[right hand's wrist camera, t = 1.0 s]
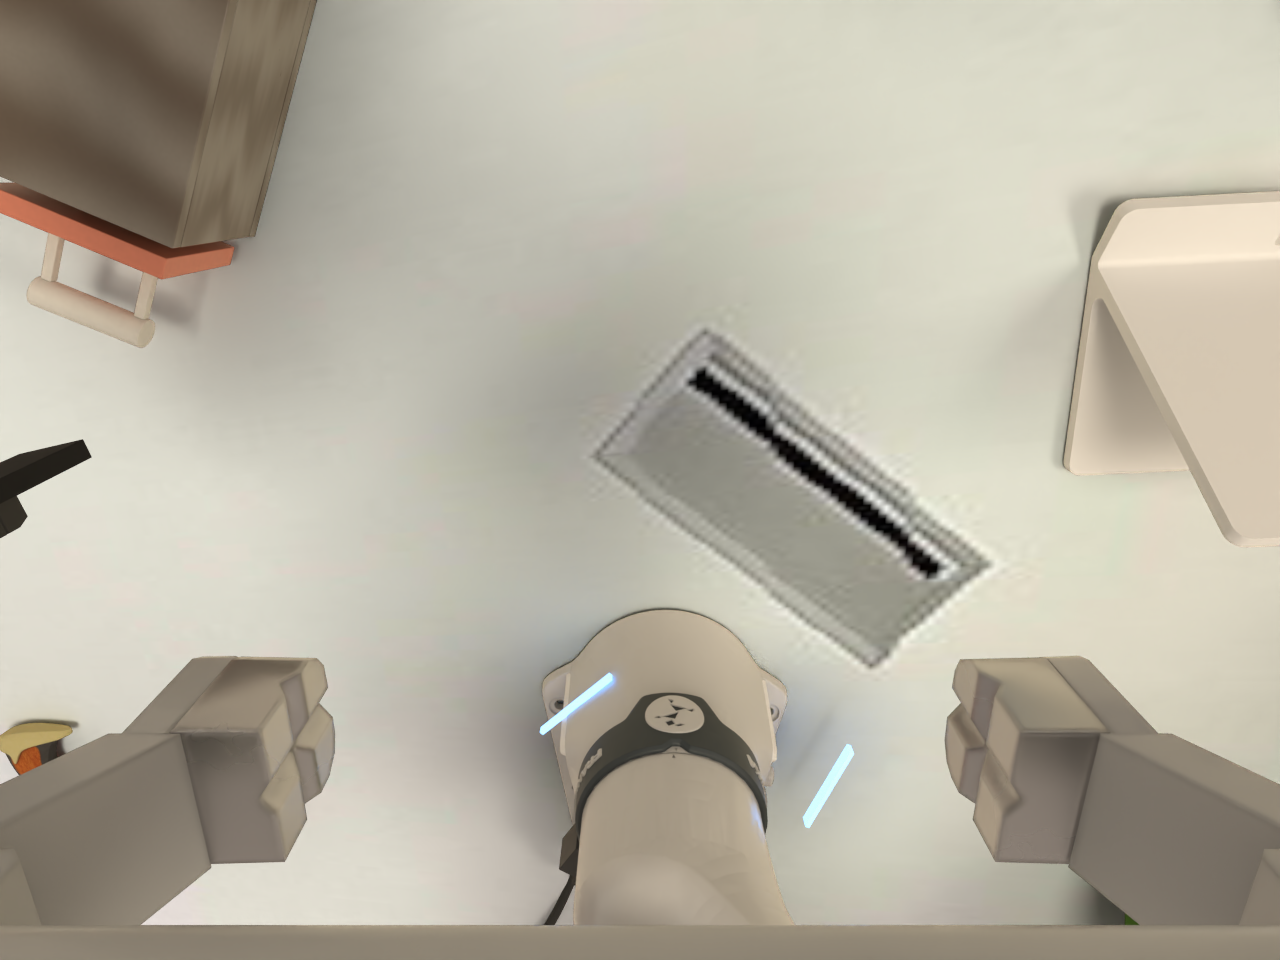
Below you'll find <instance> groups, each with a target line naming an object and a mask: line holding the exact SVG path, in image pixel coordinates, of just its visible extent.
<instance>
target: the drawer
mask: <svg viewBox="0 0 1280 960" xmlns="http://www.w3.org/2000/svg"><path fill="white" fill-rule="evenodd" d="M0 213H2V214H4V215H7V216H9V217H12V218H14V219H16V220H19V221H21V222H24V223H26V224H29V225H31V226H33V227H36V228H38V229H41V230H43V231H46V232H48V238H47V244H46V249H45V255H44V261H43V266H42V272H41V276H39V277H37V278H35V279H34V280H33V281H32V282H31V284H30V285H29V287H28V290H27V300H28V302H29V303H30V304H32V305H34V306H37V307H39V308H42V309H44V310H47V311H49V312H52V313H54V314H57V315H59V316H62V317H64V318H67V319H69V320H72V321H74V322H77V323H79V324H82V325H84V326H87V327H89V328H92V329H94V330H97V331H99V332H102V333H104V334H107V335H109V336H112V337H114V338H117V339H119V340H122V341H124V342H127V343H129V344H132V345H134V346H137V347H139V348H143V347H145V346H147V345H148V344H149V342H150V341H151V339H152V337H153V335H154V332H155V323H154V322H153V321H152V320H150V319H148V318H149V315H150V311H151V306H152V302H153V297H154V293H155V289H156V284H157V280H158V278H159V279H166V278H170V277H175V276H180V275H184V274H189V273H194V272H198V271H203V270H208V269H212V268H217V267H222V266H226V265H230V263H231V259H232V255H233V251H234V247H233V246H231V245H228V244H226V243H224V242H221V241H218V242H212V243H205V244H199V245H192V246H186V247H178V248H170V247H168V246H165V245H163V244H160V243H158V242H156V241H153V240H151V239H148V238H146V237H144V236H141V235H139V234H137V233H134V232H132V231H129V230H127V229H125V228H122V227H120V226H117V225H115V224H113V223H110V222H108V221H105V220H103V219H101V218H98V217H96V216H94V215H91V214H89V213H86V212H84V211H82V210H79V209H77V208H74V207H72V206H70V205H67V204H65V203H63V202H60V201H58V200H55V199H53V198H51V197H48V196H46V195H43V194H41V193H39V192H36V191H34V190H31V189H29V188H27V187H24V186H22V185H20V184H17V183H0ZM64 240H67V241H70V242H72V243H75V244H77V245H79V246H82V247H84V248H87V249H89V250H92V251H94V252H96V253H99V254H101V255H104V256H106V257H109V258H111V259H113V260H116V261H118V262H121V263H123V264H125V265H128V266H130V267H133V268H135V269H138V270H140V271H142V272H143V275H142V279H141V284H140V289H139V293H138V298H137V302H136V307H135V311H134V313H133V312H130V311H128V310H125V309H123V308H120V307H118V306H115V305H113V304H111V303H108V302H106V301H103V300H101V299H98V298H96V297H93V296H91V295H88V294H86V293H83V292H81V291H78V290H76V289H74V288H71V287H69V286H66V285H64V284H61V283H59V282H56V281H57V278H58V272H59V267H60V261H61V256H62V250H63V245H64Z"/></svg>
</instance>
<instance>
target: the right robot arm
mask: <svg viewBox="0 0 1280 960" xmlns="http://www.w3.org/2000/svg"><path fill="white" fill-rule="evenodd" d="M327 688H328V685H327V680H326V675H325V670H324V665H323V664H322V663H321V662H320V661H319V660H318V659H317V658H287V657H236V656H206V657H199V658H194V659H192V660H191V661H190V662H189V663H188V664H187V665H186V666H185V667H184V668H183V669H182V670H181V671H180V672H179V674H178V675H177V676H176V677H175V678H174V679H173V680H172V681H171V682H170V683H169V684H168V685H167V686H166V687H165V688H164V689H163V690H162V692H161V693H160V694H159V695H158V696H157V697H156V698H155V699H154V700H153V701H152V702H151V703H150V704H149V705H148V706H147V707H146V708H145V709H144V711H143V712H142V713H141V714H140V715H139V716H138V717H137V718H136V719H135V720H134V721H133V722H132V723H131V724H130V725H129V726H128V727H127V729H126V730H125V731H124V732H123V733H122V734H107V735H105V736H103V737H100V738H98V739H96V740H94V741H92V742H90V743H88V744H86V745H83V746H81V747H79V748H77V749H75V750H73V751H71V752H68V753H66V754H64V755H62V756H60V757H58V758H56V759H54V760H51V761H49V762H47V763H45V764H43V765H41V766H39V767H36V768H34V769H32V770H30V771H28V772H26V773H24V774H22V775H19V776H17V777H15V778H13V779H11V780H9V781H7V782H4V783H2V784H0V960H1280V784H1277V783H1275V782H1273V781H1271V780H1269V779H1267V778H1265V777H1262V776H1260V775H1258V774H1256V773H1254V772H1252V771H1250V770H1248V769H1245V768H1243V767H1241V766H1239V765H1237V764H1235V763H1233V762H1231V761H1228V760H1226V759H1224V758H1222V757H1220V756H1218V755H1216V754H1214V753H1211V752H1209V751H1207V750H1205V749H1203V748H1201V747H1199V746H1197V745H1194V744H1192V743H1190V742H1188V741H1186V740H1184V739H1182V738H1180V737H1177V736H1175V735H1173V734H1158V733H1157V732H1156V731H1155V730H1154V728H1153V727H1152V726H1151V725H1150V724H1149V723H1148V722H1147V721H1146V720H1145V719H1144V718H1143V717H1142V716H1141V715H1140V714H1139V713H1138V712H1137V710H1136V709H1135V708H1134V707H1133V706H1132V705H1131V704H1130V703H1129V702H1128V701H1127V700H1126V699H1125V698H1124V697H1123V696H1122V695H1121V694H1120V692H1119V691H1118V690H1117V689H1116V688H1115V687H1114V686H1113V685H1112V684H1111V683H1110V682H1109V681H1108V680H1107V679H1106V678H1105V677H1104V676H1103V674H1102V673H1101V672H1100V671H1099V670H1098V669H1097V668H1096V667H1095V666H1094V665H1093V664H1092V663H1091V662H1090V661H1089V660H1088V659H1085V658H1083V657H1080V656H1058V657H1039V658H999V659H960V661H959V663H958V665H957V667H956V669H955V673H954V679H953V684H952V688H953V690H954V692H955V693H956V695H957V697H958V698H959V700H960V702H961V704H960V705H959V706H958V707H957V708H956V709H955V710H954V711H953V712H952V713H951V714H950V715H949V716H948V717H947V724H946V732H945V749H946V760H947V764H948V768H949V771H950V774H951V778H952V780H953V782H954V784H955V786H956V788H957V790H958V792H959V793H960V794H962V795H963V796H965V797H966V798H968V799H969V800H971V801H972V802H974V803H975V810H974V815H973V821H974V822H975V824H976V826H977V828H978V830H979V832H980V834H981V836H982V838H983V839H984V841H985V843H986V845H987V847H988V849H989V851H990V853H991V855H992V856H993V858H994V860H995V862H1019V863H1055V864H1069V868H1070V869H1071V870H1073V871H1074V872H1075V873H1076V874H1077V875H1079V876H1080V877H1081V878H1082V879H1084V880H1085V881H1086V882H1087V883H1089V884H1090V885H1091V886H1092V887H1094V888H1095V889H1096V890H1097V891H1098V892H1100V893H1101V894H1102V895H1103V896H1105V897H1106V898H1107V899H1108V900H1110V901H1111V902H1112V903H1113V904H1115V905H1116V906H1117V907H1118V908H1119V909H1121V910H1122V911H1123V912H1124V913H1126V914H1127V915H1128V916H1129V917H1131V918H1132V919H1133V920H1134V921H1136V922H1137V923H1138V924H1139V925H795V924H794V922H793V921H792V919H791V917H790V915H789V913H788V911H787V909H786V907H785V905H784V902H783V899H782V896H781V893H780V890H779V886H778V883H777V880H776V877H775V873H774V869H773V866H772V862H771V858H770V855H769V851H768V846H767V842H766V838H765V833H766V829H767V796H766V791H765V786H771V785H772V783H773V780H774V769H773V767H771V763H772V762H774V761H776V759H777V747H776V741H775V735H776V732H777V730H778V727H779V724H780V721H781V719H782V716H783V713H784V710H785V707H786V705H787V691H786V688H785V686H784V685H783V684H782V683H781V682H780V681H779V680H778V679H776V678H775V677H773V676H772V675H770V674H769V673H767V672H765V671H764V670H762V669H760V668H759V666H758V665H757V664H756V663H755V662H754V660H753V659H752V657H751V656H750V654H749V653H748V651H747V649H746V648H745V647H744V645H743V644H742V643H741V642H740V640H739V639H738V638H737V637H736V636H735V635H734V634H732V633H731V632H730V631H729V630H728V629H726V628H725V627H723V626H722V625H720V624H718V623H717V622H715V621H713V620H711V619H709V618H706V617H704V616H701V615H698V614H694V613H690V612H685V611H679V610H653V611H646V612H641V613H637V614H634V615H631V616H628V617H625V618H623V619H620V620H618V621H616V622H614V623H613V624H611V625H609V626H608V627H606V628H605V629H603V630H602V631H601V632H600V633H598V634H597V635H596V636H595V637H594V638H593V639H592V640H591V641H590V642H589V643H588V645H587V646H586V647H585V648H584V650H583V651H582V652H581V653H580V655H579V656H578V657H577V658H576V659H575V660H573V661H572V662H571V663H569V664H567V665H565V666H563V667H561V668H559V669H557V670H555V671H554V672H552V673H551V674H549V675H548V676H547V677H546V678H545V679H544V681H543V684H542V696H543V700H544V705H545V709H546V713H547V717H548V722H547V723H545V724H544V725H543V726H542V727H541V729H540V733H541V734H542V735H544V734H545V733H546V732H547V731H549V730H551V735H552V739H553V743H554V747H555V752H556V756H557V760H558V765H559V769H560V773H561V777H562V782H563V786H564V790H565V795H566V799H567V803H568V808H569V812H570V816H571V820H572V824H573V827H572V828H571V829H570V830H569V831H568V833H567V834H566V835H565V836H564V838H563V840H562V849H561V857H560V866H559V869H560V870H562V871H564V872H566V873H568V874H569V875H570V877H569V880H568V882H567V884H566V886H565V888H564V890H563V891H562V893H561V895H560V897H559V899H558V901H557V903H556V905H555V907H554V909H553V911H552V913H551V915H550V917H549V918H548V920H547V922H546V923H545V925H141V924H142V923H143V922H145V921H146V920H147V919H148V918H150V917H151V916H152V915H153V914H155V913H156V912H157V911H158V910H160V909H161V908H162V907H163V906H165V905H166V904H167V903H168V902H169V901H171V900H172V899H173V898H174V897H176V896H177V895H178V894H179V893H181V892H182V891H183V890H184V889H186V888H187V887H188V886H189V885H190V884H192V883H193V882H194V881H195V880H197V879H198V878H199V877H200V876H202V875H203V874H204V873H205V872H207V871H208V870H209V869H210V868H211V864H224V863H259V862H285V860H286V858H287V857H288V855H289V853H290V851H291V849H292V847H293V845H294V843H295V841H296V840H297V838H298V836H299V834H300V832H301V830H302V828H303V826H304V824H305V822H306V821H307V815H306V810H305V803H306V802H308V801H309V800H311V799H312V798H314V797H315V796H317V795H318V794H320V793H321V792H322V790H323V788H324V786H325V784H326V781H327V779H328V777H329V775H330V771H331V767H332V762H333V758H334V753H335V730H334V723H333V717H332V716H331V715H330V714H329V713H328V712H327V711H326V710H325V709H324V708H323V707H322V706H321V705H320V704H319V702H320V700H321V698H322V697H323V695H324V693H325V692H326V690H327ZM558 700H562V701H564V703H563V704H559V703H557V702H556V701H558ZM770 708H771V709H770ZM853 755H854V752H853V750H852V747H851V745H848V744H847V745H846V747H845V749H844V750H843V752H842V754H841V755H840V757H839V759H838V760H837V762H836V764H835V765H834V767H833V768H832V770H831V772H830V773H829V775H828V777H827V778H826V780H825V782H824V783H823V785H822V787H821V788H820V790H819V792H818V793H817V795H816V797H815V798H814V800H813V802H812V803H811V805H810V807H809V808H808V810H807V812H806V813H805V815H804V817H803V819H804V823H805V827H808V828H809V827H810V825H811V824H812V822H813V821H814V819H815V817H816V816H817V814H818V812H819V811H820V809H821V807H822V806H823V804H824V802H825V801H826V799H827V798H828V796H829V794H830V793H831V791H832V789H833V788H834V786H835V784H836V783H837V781H838V779H839V778H840V776H841V774H842V773H843V771H844V770H845V768H846V766H847V765H848V763H849V761H850V760H851V758H852V756H853ZM574 885H576V887H575V898H574V909H573V922H574V925H555V923H556V921H557V920H558V918H559V916H560V914H561V912H562V910H563V908H564V906H565V904H566V902H567V900H568V897H569V895H570V893H571V891H572V889H573V886H574Z"/></svg>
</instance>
